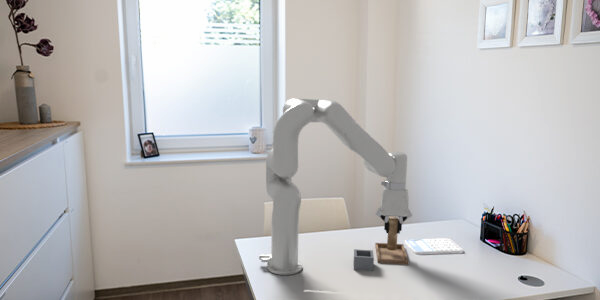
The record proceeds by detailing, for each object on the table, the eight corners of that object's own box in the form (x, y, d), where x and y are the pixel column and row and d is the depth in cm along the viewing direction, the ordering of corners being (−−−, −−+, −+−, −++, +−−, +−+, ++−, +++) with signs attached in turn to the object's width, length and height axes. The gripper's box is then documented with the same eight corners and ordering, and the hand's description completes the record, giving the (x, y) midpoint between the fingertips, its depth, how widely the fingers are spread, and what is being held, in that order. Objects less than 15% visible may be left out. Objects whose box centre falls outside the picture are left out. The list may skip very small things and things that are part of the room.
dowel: (387, 250, 176) (389, 220, 173) (386, 246, 179) (388, 216, 177) (397, 250, 175) (398, 220, 173) (396, 247, 179) (397, 217, 177)
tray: (408, 266, 169) (408, 260, 169) (377, 264, 170) (378, 259, 170) (402, 249, 185) (403, 244, 185) (375, 247, 186) (375, 242, 186)
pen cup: (353, 271, 164) (354, 256, 163) (353, 263, 171) (354, 249, 170) (373, 272, 163) (373, 257, 162) (372, 264, 170) (372, 250, 169)
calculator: (464, 254, 183) (464, 249, 182) (415, 255, 180) (415, 251, 180) (449, 241, 196) (449, 237, 195) (403, 242, 193) (403, 238, 193)
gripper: (373, 187, 170) (371, 234, 173) (419, 188, 168) (416, 236, 171) (372, 181, 177) (370, 227, 180) (416, 183, 175) (413, 229, 179)
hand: (392, 231), depth 176 cm, fingers closed on dowel, 3 cm apart
